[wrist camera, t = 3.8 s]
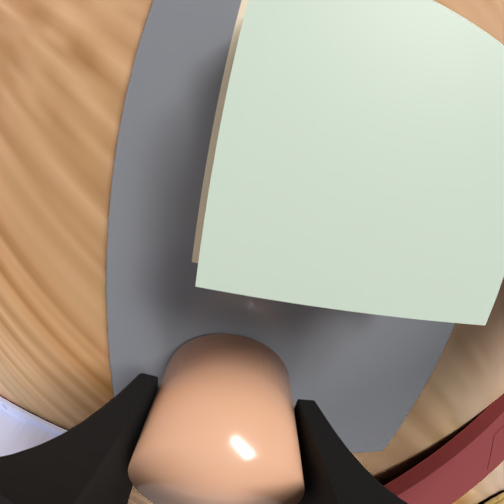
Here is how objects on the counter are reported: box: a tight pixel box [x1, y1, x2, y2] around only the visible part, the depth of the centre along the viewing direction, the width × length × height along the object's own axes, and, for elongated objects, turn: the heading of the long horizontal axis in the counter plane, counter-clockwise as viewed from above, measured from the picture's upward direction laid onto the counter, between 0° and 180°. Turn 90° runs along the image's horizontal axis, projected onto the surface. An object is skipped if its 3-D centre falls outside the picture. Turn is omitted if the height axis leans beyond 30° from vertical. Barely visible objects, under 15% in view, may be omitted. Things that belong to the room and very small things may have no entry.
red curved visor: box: [384, 394, 504, 504], centre depth 16 cm, size 12×5×25 cm
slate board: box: [106, 0, 455, 453], centre depth 10 cm, size 14×20×1 cm
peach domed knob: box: [128, 334, 305, 504], centre depth 9 cm, size 5×5×5 cm
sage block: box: [195, 0, 504, 325], centre depth 5 cm, size 6×6×2 cm
